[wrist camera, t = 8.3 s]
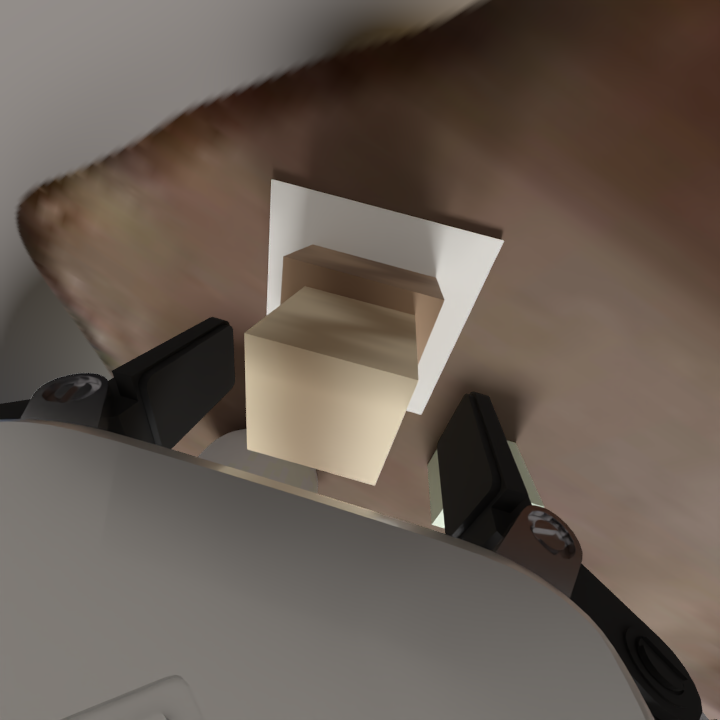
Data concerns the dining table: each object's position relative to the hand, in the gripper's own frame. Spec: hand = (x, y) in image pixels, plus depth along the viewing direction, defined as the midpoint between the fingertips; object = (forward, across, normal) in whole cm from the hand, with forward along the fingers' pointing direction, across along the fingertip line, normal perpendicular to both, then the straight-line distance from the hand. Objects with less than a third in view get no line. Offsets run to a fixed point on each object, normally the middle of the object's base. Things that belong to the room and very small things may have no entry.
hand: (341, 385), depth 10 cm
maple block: (+3, 0, 0) cm, 3 cm away
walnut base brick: (+7, 0, 0) cm, 7 cm away
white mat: (+7, 0, 0) cm, 7 cm away
